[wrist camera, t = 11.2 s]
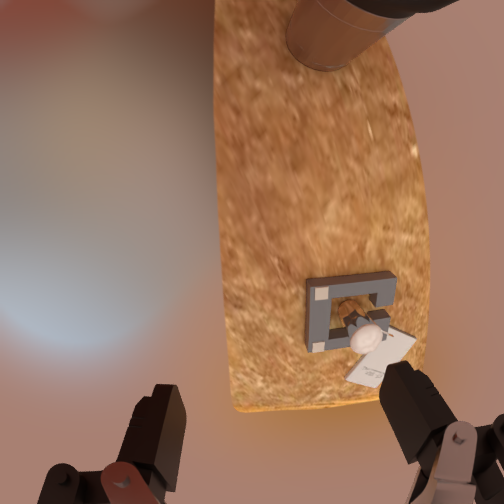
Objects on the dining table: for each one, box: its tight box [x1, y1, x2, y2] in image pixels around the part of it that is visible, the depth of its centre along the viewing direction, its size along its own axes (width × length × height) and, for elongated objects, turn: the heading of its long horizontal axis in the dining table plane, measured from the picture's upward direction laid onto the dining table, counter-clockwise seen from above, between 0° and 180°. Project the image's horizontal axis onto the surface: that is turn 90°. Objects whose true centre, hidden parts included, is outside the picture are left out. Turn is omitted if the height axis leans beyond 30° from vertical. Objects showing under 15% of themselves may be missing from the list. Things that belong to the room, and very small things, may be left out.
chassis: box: [305, 271, 397, 353], centre depth 39 cm, size 11×13×3 cm
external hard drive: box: [345, 325, 417, 388], centre depth 44 cm, size 2×8×12 cm
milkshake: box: [338, 300, 394, 354], centre depth 36 cm, size 4×5×10 cm
